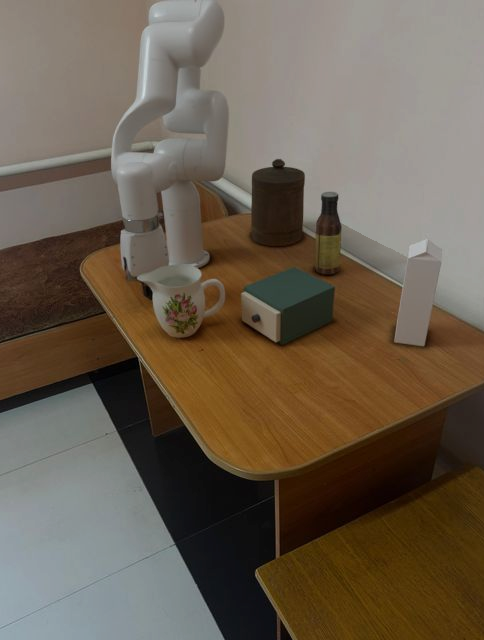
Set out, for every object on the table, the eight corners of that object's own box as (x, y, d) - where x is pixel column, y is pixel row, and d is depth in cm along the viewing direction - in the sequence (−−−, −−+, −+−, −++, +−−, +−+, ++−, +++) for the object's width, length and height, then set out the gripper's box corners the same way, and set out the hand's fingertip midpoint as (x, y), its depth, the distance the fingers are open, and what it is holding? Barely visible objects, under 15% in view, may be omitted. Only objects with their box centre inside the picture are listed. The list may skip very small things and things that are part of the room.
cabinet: (282, 345, 111) (283, 309, 106) (244, 320, 119) (243, 286, 114) (332, 321, 118) (335, 286, 113) (293, 299, 126) (294, 266, 121)
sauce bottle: (344, 271, 137) (351, 194, 126) (325, 278, 134) (331, 200, 123) (326, 262, 142) (331, 188, 130) (308, 269, 139) (312, 193, 127)
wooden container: (312, 233, 158) (316, 156, 145) (284, 251, 148) (285, 171, 136) (270, 223, 166) (270, 149, 153) (241, 239, 156) (239, 162, 144)
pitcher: (232, 335, 114) (229, 277, 107) (147, 348, 111) (139, 290, 104) (221, 310, 123) (218, 255, 115) (142, 322, 120) (134, 266, 112)
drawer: (271, 344, 109) (271, 316, 106) (237, 322, 117) (236, 294, 113) (322, 320, 117) (324, 292, 113) (287, 300, 124) (288, 274, 120)
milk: (393, 342, 110) (409, 242, 98) (395, 327, 115) (411, 229, 102) (425, 347, 108) (444, 245, 96) (425, 331, 113) (444, 232, 100)
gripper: (162, 210, 122) (170, 282, 132) (101, 226, 115) (115, 301, 125) (179, 219, 117) (186, 293, 127) (117, 236, 110) (130, 314, 120)
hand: (151, 297), depth 126 cm, fingers closed
